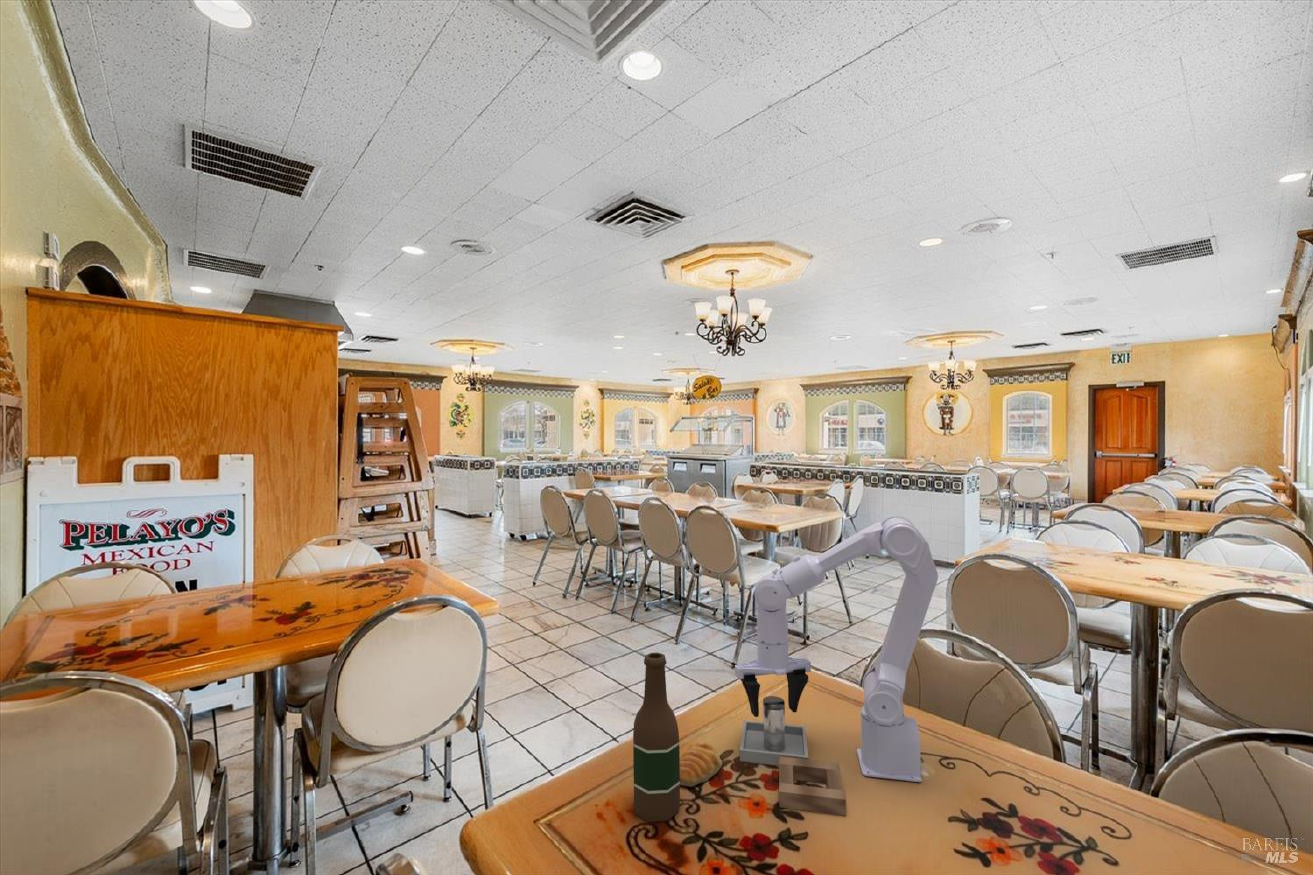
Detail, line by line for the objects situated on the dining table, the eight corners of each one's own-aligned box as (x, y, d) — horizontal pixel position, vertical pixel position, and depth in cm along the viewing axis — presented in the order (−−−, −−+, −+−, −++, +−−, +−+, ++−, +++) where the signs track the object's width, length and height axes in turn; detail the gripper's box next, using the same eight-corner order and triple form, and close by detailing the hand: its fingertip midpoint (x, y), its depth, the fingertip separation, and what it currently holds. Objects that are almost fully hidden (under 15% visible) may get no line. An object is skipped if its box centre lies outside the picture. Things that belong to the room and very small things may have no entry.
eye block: (838, 777, 94) (838, 762, 94) (845, 815, 85) (845, 799, 85) (779, 770, 97) (779, 756, 97) (779, 807, 87) (779, 791, 87)
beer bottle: (686, 797, 90) (685, 649, 90) (672, 828, 82) (671, 667, 82) (642, 788, 92) (640, 644, 92) (624, 817, 85) (623, 661, 85)
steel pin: (769, 738, 106) (768, 694, 106) (788, 744, 104) (788, 699, 104) (759, 747, 103) (759, 702, 103) (779, 754, 101) (779, 707, 101)
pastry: (698, 795, 90) (697, 772, 90) (664, 782, 94) (663, 759, 94) (724, 767, 98) (724, 746, 98) (692, 756, 102) (691, 735, 102)
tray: (805, 736, 108) (805, 726, 108) (808, 768, 97) (808, 757, 97) (743, 730, 110) (743, 720, 110) (739, 761, 100) (739, 749, 100)
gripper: (743, 650, 99) (745, 727, 98) (818, 643, 101) (819, 717, 101) (730, 637, 105) (731, 708, 105) (800, 631, 108) (802, 700, 108)
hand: (773, 712), depth 104 cm, fingers open, 7 cm apart
